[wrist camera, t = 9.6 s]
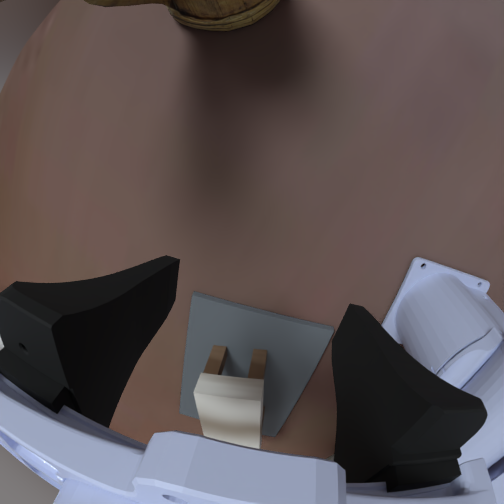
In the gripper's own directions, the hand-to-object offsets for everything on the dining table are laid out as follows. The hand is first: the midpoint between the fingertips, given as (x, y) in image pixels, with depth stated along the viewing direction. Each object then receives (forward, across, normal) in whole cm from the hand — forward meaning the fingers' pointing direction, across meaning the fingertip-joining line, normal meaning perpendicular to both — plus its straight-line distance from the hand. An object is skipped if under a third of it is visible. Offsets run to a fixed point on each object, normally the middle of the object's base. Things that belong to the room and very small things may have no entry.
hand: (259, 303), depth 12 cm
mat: (+10, -1, +16) cm, 19 cm away
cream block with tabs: (+9, -1, +16) cm, 18 cm away
